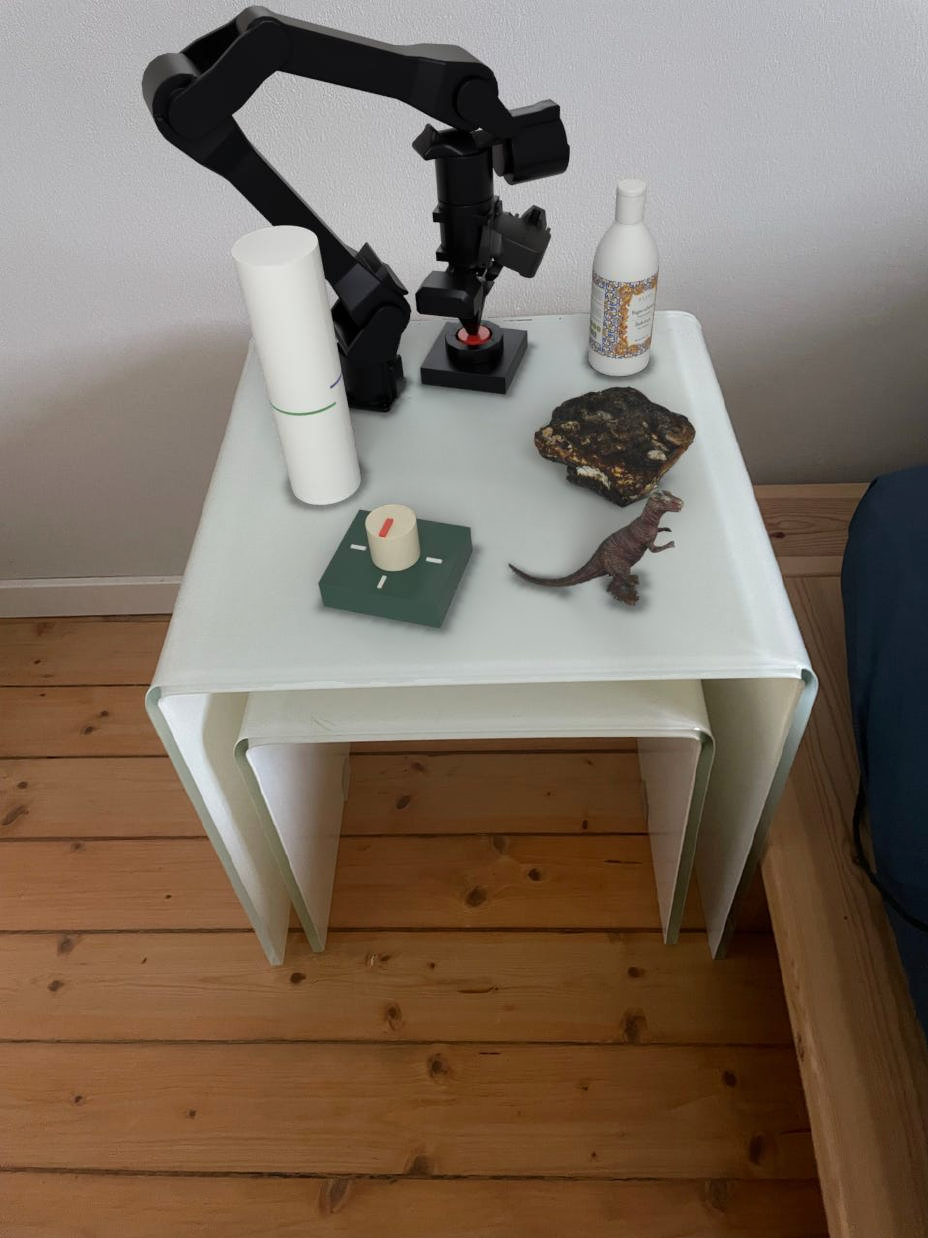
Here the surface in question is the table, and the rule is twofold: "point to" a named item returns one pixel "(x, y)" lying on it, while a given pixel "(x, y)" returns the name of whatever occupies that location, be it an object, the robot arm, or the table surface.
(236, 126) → the robot arm
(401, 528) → the dial knob
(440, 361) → the button box
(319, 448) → the cylindrical container
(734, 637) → the table surface
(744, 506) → the table surface
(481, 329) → the button
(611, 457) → the fossil rock
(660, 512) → the dinosaur model
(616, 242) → the bath foam
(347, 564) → the dial panel
